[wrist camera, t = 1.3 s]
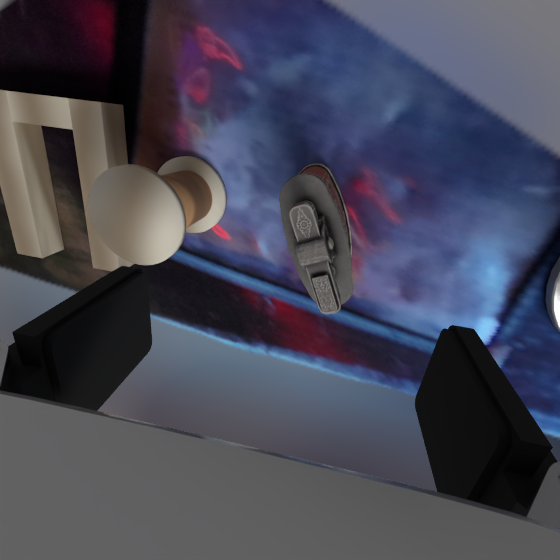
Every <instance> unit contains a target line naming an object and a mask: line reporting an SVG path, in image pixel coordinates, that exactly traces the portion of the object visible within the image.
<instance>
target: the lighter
mask: <svg viewBox="0 0 560 560" xmlns="http://www.w3.org/2000/svg"><path fill="white" fill-rule="evenodd" d="M280 207H281V215H282V222H283V228H284V232H285V236H286V240H287V244H288V248H289V252H290V255H291V257H292V259H293V262H294V264H295V267H296V269H297V271H298V274H299V276H300V278H301V280H302V282H303V284H304V285H305V287H306V289H307V291H308V292H309V294H310V296H311V298H312V299H313V300H314V301H315V302H316V303H317V304H318V307H319V309H320V311H321V312H322V313H324V314H332V313H336V312H338V311H339V310H340V307H341V304H343V303H345V302H346V301H347V300H349V298H350V297H351V295H352V292H353V275H352V259H351V254H352V245H351V229H350V223H349V218H348V212H347V208H346V205H345V202H344V199H343V196H342V193H341V190H340V188H339V186H338V184H337V182H336V180H335V178H334V175H333V173H332V171H331V170H330V168H329V167H328V166H326V165H325V164H323V163H312V164H309V165H307V166H305V167H304V168H303V169H302V170H301V171H300V172H299V174H298V175H296V176H294V177H292V178H291V179H289V180H288V181H287V182H286V183H285V184H284V185H283V187H282V189H281V192H280Z"/></svg>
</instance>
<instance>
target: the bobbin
mask: <svg viewBox="0 0 560 560" xmlns="http://www.w3.org/2000/svg"><path fill="white" fill-rule="evenodd" d="M226 204H227V194H226V189H225V185H224V183H223V180H222V179H221V177H220V175H219V174H218V172H217V171H216V170H215V169H214V168H213V167H212V166H211V165H210V164H208V163H207V162H206V161H204V160H202V159H199V158H197V157H192V156H182V157H176V158H173V159H171V160H169V161H167V162H166V163H165V164H164V165H162V167H161V168H160V169H159V171H158V172H157V173H156V172H155V171H153V170H151V169H149V168H146V167H143V166H139V165H131V164H130V165H120V166H115V167H112V168H109V169H107V170H105V171H104V172H102V173H101V174H100V175H99V176H98V177H97V179H96V180H95V181H94V183H93V185H92V187H91V190H90V195H89V212H90V217H91V220H92V224H93V226H94V228H95V230H96V232H97V234H98V236H99V237H100V238H101V240H102V241H103V242H104V244H105V245H106V246H107V247H108V248H109V249H110V250H111V251H112V252H114V253H115V254H116V255H118V256H119V257H121V258H122V259H124V260H126V261H129V262H131V263H135V264H139V265H153V264H157V263H160V262H162V261H164V260H166V259H167V258H169V257H170V256H172V255H173V254H174V253H175V252H176V251H177V250H178V249H179V247H180V246H181V244H182V242H183V240H184V237H185V232H189V233H199V232H204V231H206V230H208V229H210V228H212V227H213V226H214V225H216V224H217V223H218V222H219V221H220V219H221V218H222V216H223V215H224V212H225V209H226Z"/></svg>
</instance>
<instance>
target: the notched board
mask: <svg viewBox="0 0 560 560" xmlns="http://www.w3.org/2000/svg"><path fill="white" fill-rule="evenodd" d="M41 125H43V126H50V127H57V128H65V129H72V130H73V135H74V142H75V148H76V155H77V162H78V168H79V175H80V182H81V189H82V195H83V202H84V209H85V216H86V222H87V229H88V236H89V243H90V249H91V256H92V263H93V268H97V269H102V270H107V271H114V270H115V269H117V268H119V267H121V266H128V267H130V266H132V265H133V264H135V263H131V262H129V261H126V260H124V259H122V258H121V257H119V256H118V255H116V254H115V253H114V252H112V251H111V250H110V249H109V248H108V247H107V246H106V245H105V244H104V242H103V241H102V240H101V238H100V237H99V236H98V234H97V232H96V230H95V228H94V226H93V224H92V220H91V217H90V212H89V195H90V190H91V187H92V185H93V183H94V181H95V180H96V179H97V177H98V176H99V175H100V174H101V173H102V172H104V171H105V170H107V169H109V168H112V167H115V166H120V165H128V159H127V147H126V135H125V124H124V112H123V105H119V104H111V103H103V102H95V101H86V100H78V99H70V98H62V97H54V96H46V95H37V94H29V93H21V92H13V91H5V90H0V186H1V190H2V194H3V198H4V202H5V206H6V210H7V214H8V218H9V221H10V225H11V229H12V233H13V237H14V241H15V245H16V249H17V253H18V254H23V255H29V256H34V257H39V258H44V257H46V256H49V255H51V254H53V253H56V252H58V251H61V250H63V249H64V246H63V240H62V235H61V230H60V224H59V219H58V213H57V208H56V203H55V197H54V192H53V186H52V181H51V176H50V170H49V165H48V160H47V154H46V149H45V143H44V138H43V133H42V127H41Z"/></svg>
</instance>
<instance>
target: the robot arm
mask: <svg viewBox="0 0 560 560" xmlns="http://www.w3.org/2000/svg"><path fill="white" fill-rule="evenodd" d="M545 300H546V306H547V312H548V315H549V317H550V319H551V321H552V323H553V325H554V326H555V327H556V329H557V330H558V331H559V332H560V257H559V258H558V260H557V262H556V264H555V265H554V267H553V269H552V271H551V274H550V277H549V280H548V283H547V288H546V299H545ZM13 336H14V339H15V343H13V344H12V345H10V346H8V344H7V343H6V342H5V341H4V340H1V339H0V560H560V462H557V460H556V459H555V458H554V456H553V454H552V453H551V451H550V450H551V449H552V448H553V447H552V446H551V444H550V443H549V441H548V440H547V438H546V437H545V435H544V434H543V432H542V431H541V429H540V428H539V426H538V425H537V423H536V422H535V420H534V419H533V417H532V416H531V414H530V413H529V411H528V410H527V408H526V407H525V405H524V404H523V402H522V400H521V399H520V397H519V396H518V394H517V393H516V391H515V390H514V388H513V387H512V385H511V384H510V382H509V381H508V379H507V378H506V376H505V375H504V373H503V372H502V370H501V369H500V367H499V366H498V364H497V363H496V361H495V360H494V358H493V357H492V355H491V354H490V352H489V351H488V349H487V348H486V346H485V345H484V343H483V342H482V340H481V339H480V337H479V336H478V334H477V333H476V331H475V330H474V329H471V328H465V327H460V326H454V325H452V326H450V327H449V328H448V329H443V330H442V331H441V333H440V336H439V338H438V341H437V344H436V346H435V349H434V351H433V354H432V356H431V359H430V362H429V364H428V367H427V369H426V372H425V374H424V377H423V380H422V382H421V385H420V387H419V390H418V392H417V395H416V399H415V408H416V412H417V416H418V420H419V424H420V427H421V431H422V435H423V439H424V443H425V447H426V450H427V454H428V458H429V462H430V465H431V469H432V473H433V477H434V481H435V485H436V488H437V492H435V491H431V490H427V489H423V488H419V487H415V486H412V485H408V484H403V483H400V482H396V481H391V480H387V479H383V478H379V477H375V476H371V475H367V474H362V473H358V472H354V471H350V470H346V469H342V468H338V467H333V466H329V465H325V464H321V463H317V462H313V461H308V460H305V459H300V458H296V457H292V456H288V455H284V454H279V453H275V452H271V451H267V450H263V449H258V448H254V447H250V446H246V445H241V444H237V443H233V442H229V441H224V440H220V439H216V438H212V437H207V436H203V435H198V434H194V433H190V432H186V431H181V430H177V429H173V428H169V427H165V426H160V425H156V424H151V423H147V422H142V421H138V420H134V419H130V418H125V417H121V416H116V415H112V414H108V413H103V412H99V411H97V410H98V409H99V408H100V407H101V406H102V405H103V404H104V402H105V401H106V400H107V399H108V398H109V397H110V395H111V394H112V393H113V392H114V391H115V390H116V389H117V388H118V386H119V385H120V384H121V383H122V382H123V381H124V379H125V378H126V377H127V376H128V375H129V374H130V373H131V372H132V370H133V369H134V368H135V367H136V366H137V365H138V364H139V362H140V361H141V360H142V359H143V358H144V357H145V356H146V355H147V353H148V352H149V350H150V348H151V345H152V334H151V320H150V306H149V292H148V279H147V276H146V275H145V274H143V271H142V270H141V269H139V268H133V267H128V266H121V267H119V268H117V269H115V270H114V271H112V272H111V273H109V274H107V275H106V276H104V277H102V278H101V279H99V280H97V281H96V282H94V283H92V284H91V285H89V286H88V287H86V288H84V289H83V290H81V291H79V292H78V293H76V294H74V295H73V296H71V297H69V298H68V299H66V300H65V301H63V302H61V303H60V304H58V305H56V306H55V307H53V308H51V309H50V310H48V311H47V312H45V313H43V314H42V315H40V316H38V317H37V318H35V319H33V320H32V321H30V322H28V323H27V324H25V325H23V326H22V327H20V328H19V329H17V330H15V331H14V332H13Z"/></svg>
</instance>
